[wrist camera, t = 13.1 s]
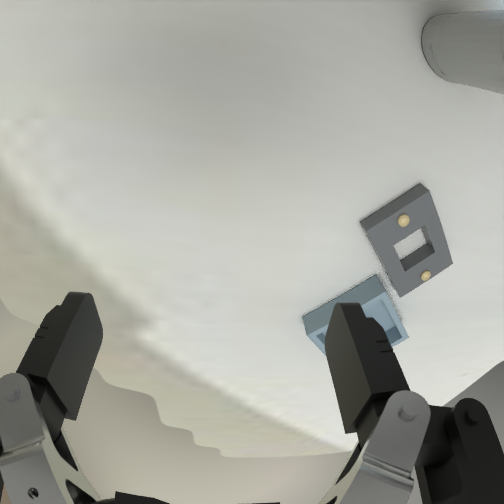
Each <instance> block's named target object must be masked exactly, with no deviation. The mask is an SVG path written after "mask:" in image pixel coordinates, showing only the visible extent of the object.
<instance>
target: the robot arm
mask: <svg viewBox="0 0 504 504" xmlns="http://www.w3.org/2000/svg"><path fill="white" fill-rule="evenodd" d="M422 47H423V51H424V55H425V57H426V60H427V62H428V63H429V65H430V67H431V68H432V69H433V71H434V72H435V73H436V74H437V75H439V76H440V77H441V78H443V79H445V80H446V81H450V82H453V83H458V84H463V85H468V86H472V87H477V88H481V89H485V90H489V91H493V92H497V93H501V94H504V10H498V11H477V12H465V13H454V14H446V15H438V16H435V17H433V18H431V19H430V20H429V21H428V22H427V24H426V25H425V27H424V30H423V33H422ZM102 339H103V328H102V324H101V321H100V318H99V315H98V312H97V308H96V305H95V302H94V298H93V296H92V294H90V293H83V292H69V293H68V294H67V296H66V297H65V299H64V301H63V303H62V304H61V306H60V305H56V306H55V307H54V308H53V309H52V310H51V311H50V312H49V313H48V314H46V316H45V318H44V319H43V321H42V323H41V325H40V328H39V329H38V330H37V332H36V334H35V338H33V340H32V341H31V343H30V345H29V347H28V350H27V351H26V353H25V355H24V357H23V359H22V361H21V363H20V365H19V367H18V370H17V371H16V373H10V374H7V375H5V376H3V377H2V378H0V501H1V496H2V490H3V485H4V484H5V487H6V490H7V493H8V496H9V498H10V501H11V504H169V503H166V502H164V501H161V500H158V499H155V498H151V497H144V496H138V495H132V494H127V493H121V492H117V491H116V493H115V498H111V499H105V500H101V498H100V496H99V495H98V493H97V491H96V490H95V488H94V487H93V486H92V484H91V483H90V482H89V481H88V479H87V478H86V476H85V475H84V473H83V471H82V469H81V467H80V465H79V463H78V460H77V458H76V456H75V454H74V452H73V449H72V447H71V445H70V443H69V440H68V438H67V436H66V433H65V431H64V429H63V427H62V424H63V420H64V418H66V419H71V420H76V418H77V415H78V412H79V408H80V405H81V402H82V399H83V396H84V393H85V389H86V386H87V383H88V380H89V377H90V374H91V371H92V369H93V366H94V363H95V360H96V357H97V354H98V352H99V349H100V346H101V343H102ZM325 353H326V357H327V360H328V364H329V368H330V372H331V376H332V380H333V384H334V388H335V392H336V396H337V400H338V404H339V409H340V413H341V417H342V421H343V426H344V430H345V434H347V433H355V432H357V435H358V439H359V440H358V441H357V443H356V445H355V447H354V448H353V450H352V452H351V454H350V456H349V458H348V459H347V461H346V463H345V465H344V466H343V468H342V470H341V471H340V473H339V475H338V477H337V478H336V480H335V481H334V483H333V485H332V486H331V488H330V489H329V491H328V492H327V493H326V494H325V496H324V497H323V498H322V500H321V501H320V502H319V504H407V501H408V499H409V497H410V495H411V492H412V489H413V486H414V479H412V478H411V472H412V469H413V467H414V466H415V470H416V474H417V479H418V483H419V488H420V492H421V498H422V503H423V504H504V454H503V451H502V448H501V445H500V442H499V439H498V437H497V434H496V432H495V429H494V426H493V424H492V421H491V419H490V416H489V414H488V411H487V409H486V408H485V406H484V405H483V404H482V403H480V402H479V401H477V400H475V399H472V398H465V399H462V400H460V401H459V402H458V403H457V404H456V405H455V406H454V408H450V407H440V406H432V405H428V403H427V401H426V400H425V399H424V398H423V397H422V396H421V395H419V394H417V393H415V392H413V391H410V389H409V386H408V384H407V381H406V379H405V377H404V374H403V372H402V369H401V367H400V365H399V362H398V360H397V358H396V355H395V353H393V348H392V346H391V344H390V342H389V339H388V337H387V335H386V333H385V331H384V328H383V327H382V326H381V325H380V324H379V323H378V322H377V321H376V320H375V319H374V318H373V317H366V316H365V313H364V311H363V309H362V307H361V305H360V303H358V302H343V303H336V304H335V306H334V309H333V312H332V315H331V319H330V322H329V325H328V329H327V332H326V335H325ZM256 504H280V502H278V503H256Z"/></svg>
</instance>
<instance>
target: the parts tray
mask: <svg viewBox="0 0 504 504" xmlns="http://www.w3.org/2000/svg"><path fill="white" fill-rule="evenodd" d="M343 302H358V303H360V305H361V307H362V309H363V311H364V313H365V316H366V317H373V318H374V319H375V320H376V321H377V322H378V323H379V324H380V325H381V326H382V327H383V328H384V331H385V333H386V335H387V337H388V339H389V342H390V344H391V346H392V347H393V346H395V345H397V344H399V343H400V342H402V341H404V340H406V339H407V338H409V336H408V334H407V332H406V330H405V328H404V326H403V324H402V322H401V320H400V318H399V316H398V314H397V312H396V310H395V308H394V306H393V304H392V302H391V300H390V298H389V296H388V294H387V292H386V291H385V289H384V287H383V285H382V283H381V282H380V280H379V278H378V276H377V275H374V276H373V277H371V278H369V279H368V280H366V281H364V282H363V283H361V284H359V285H358V286H356V287H354V288H353V289H351V290H349V291H347V292H346V293H344V294H342V295H340V296H339V297H337V298H335V299H333V300H332V301H330V302H328V303H326V304H325V305H323V306H321V307H319V308H317V309H316V310H314V311H312V312H310V313H308V314H306V315H305V316H303V321H304V325H305V330H306V334H307V336H308V337H309V338H310V339H311V340H312V342H313V343H314V344H315V345H316V346H317V347H318V348H319V349H320V350H321V351H322V352H323V353H324V354H325V355H326V353H325V335H326V332H327V329H328V325H329V322H330V319H331V315H332V312H333V309H334V306H335V304H336V303H343Z"/></svg>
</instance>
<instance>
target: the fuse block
mask: <svg viewBox="0 0 504 504" xmlns="http://www.w3.org/2000/svg"><path fill="white" fill-rule="evenodd" d="M360 224H361V225H362V227H363V229H364V231H365V233H366V234H367V236H368V238H369V240H370V242H371V244H372V245H373V247H374V249H375V251H376V253H377V255H378V257H379V259H380V261H381V263H382V264H383V266H384V268H385V270H386V272H387V274H388V276H389V278H390V280H391V282H392V284H393V286H394V288H395V290H396V292H397V293H398V295H399V297H400V298H401V297H402V296H404V295H405V294H407V293H409V292H410V291H412V290H413V289H415V288H417V287H418V286H420V285H421V284H423V283H424V282H426V281H428V280H429V279H431V278H432V277H434V276H435V275H437V274H438V273H440V272H441V271H443V270H444V269H446V268H447V267H449V266H450V265H452V264H453V262H452V259H451V255H450V252H449V248H448V245H447V241H446V238H445V235H444V232H443V228H442V225H441V222H440V219H439V216H438V213H437V210H436V208H435V205H434V202H433V199H432V196H431V194H430V191H429V190H428V189H427V188H425V187H424V186H423V185H422V184H418V185H417V186H415V187H414V188H412V189H411V190H409V191H408V192H406V193H405V194H403V195H401V196H400V197H398V198H397V199H395V200H394V201H392V202H390V203H389V204H387V205H386V206H384V207H383V208H381V209H379V210H378V211H376V212H375V213H373V214H372V215H370V216H368V217H367V218H365V219H364V220H362V221H360ZM419 228H422V230H423V233H424V236H425V238H426V241H427V244H425V245H424V246H422V247H421V248H419V249H418V250H416V251H415V252H413V253H412V254H410V255H408V256H407V257H405V258H404V259H402V260H401V261H400V260H399V258H398V255H397V253H396V251H395V249H394V247H393V245H395V244H396V243H398V242H399V241H401V240H402V239H404V238H406V237H407V236H409V235H410V234H412V233H413V232H415V231H416V230H418V229H419Z"/></svg>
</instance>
